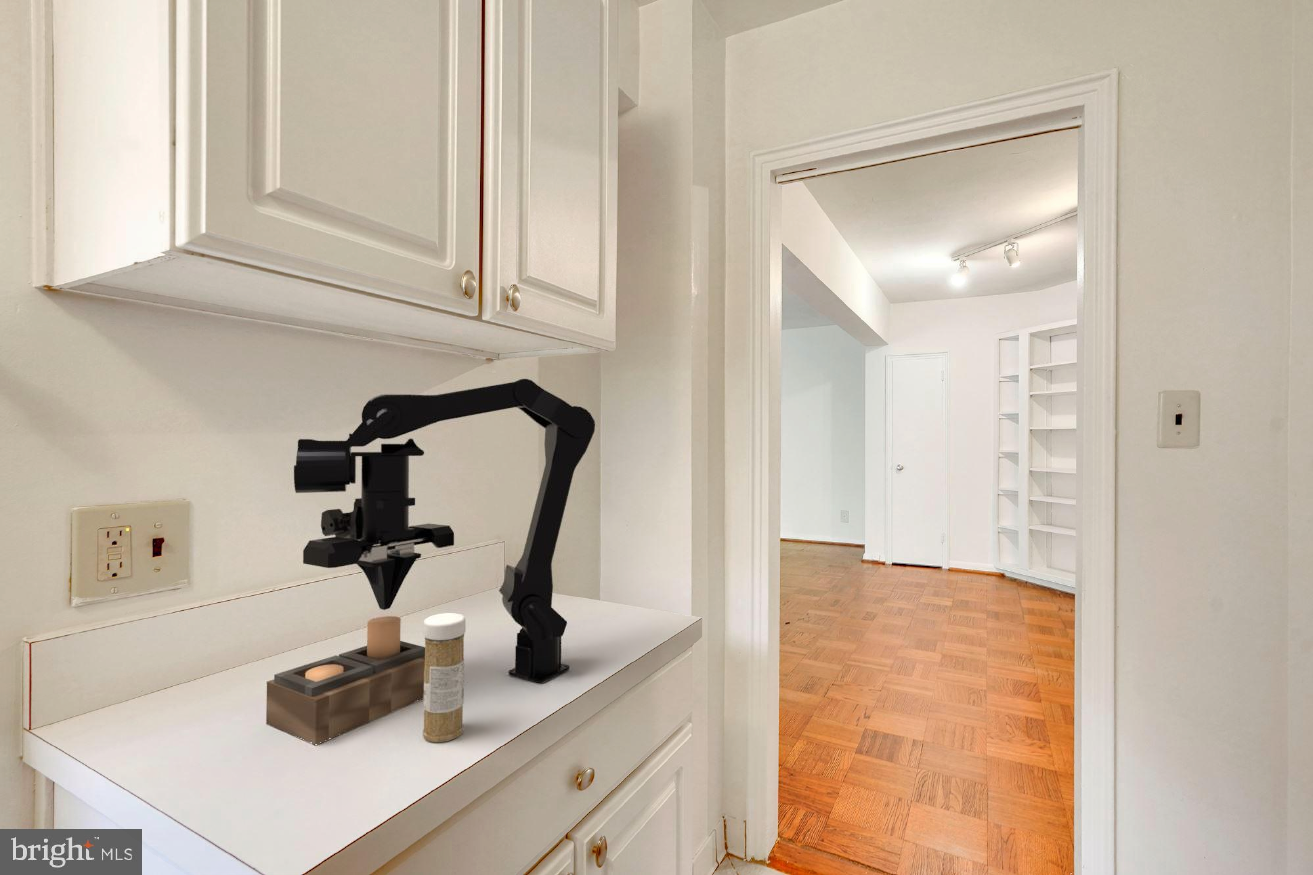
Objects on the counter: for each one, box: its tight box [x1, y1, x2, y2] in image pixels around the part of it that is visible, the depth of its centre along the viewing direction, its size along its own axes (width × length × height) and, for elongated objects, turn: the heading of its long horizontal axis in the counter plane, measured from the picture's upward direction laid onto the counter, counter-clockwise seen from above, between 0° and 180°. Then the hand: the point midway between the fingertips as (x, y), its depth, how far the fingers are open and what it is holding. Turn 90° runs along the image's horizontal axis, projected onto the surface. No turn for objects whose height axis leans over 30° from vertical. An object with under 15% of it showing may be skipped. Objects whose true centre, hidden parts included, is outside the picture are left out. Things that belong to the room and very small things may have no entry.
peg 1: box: [305, 665, 343, 682], centre depth 73 cm, size 4×4×6 cm
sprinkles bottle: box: [422, 612, 467, 743], centre depth 70 cm, size 5×5×14 cm
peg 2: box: [366, 615, 402, 660], centre depth 80 cm, size 4×4×6 cm
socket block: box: [265, 640, 425, 745], centre depth 76 cm, size 16×10×6 cm, turn 150°
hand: (384, 608), depth 80 cm, fingers closed
